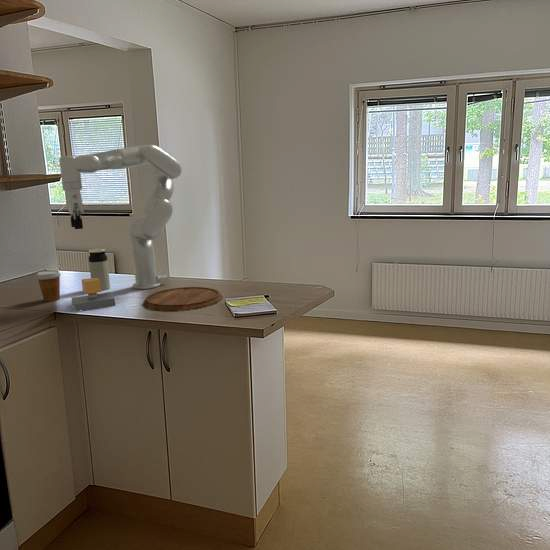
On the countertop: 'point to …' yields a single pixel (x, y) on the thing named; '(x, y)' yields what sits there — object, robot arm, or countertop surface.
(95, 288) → the tan cardboard carton
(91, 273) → the travel mug
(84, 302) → the block
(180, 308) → the cutting board
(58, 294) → the disposable coffee cup
